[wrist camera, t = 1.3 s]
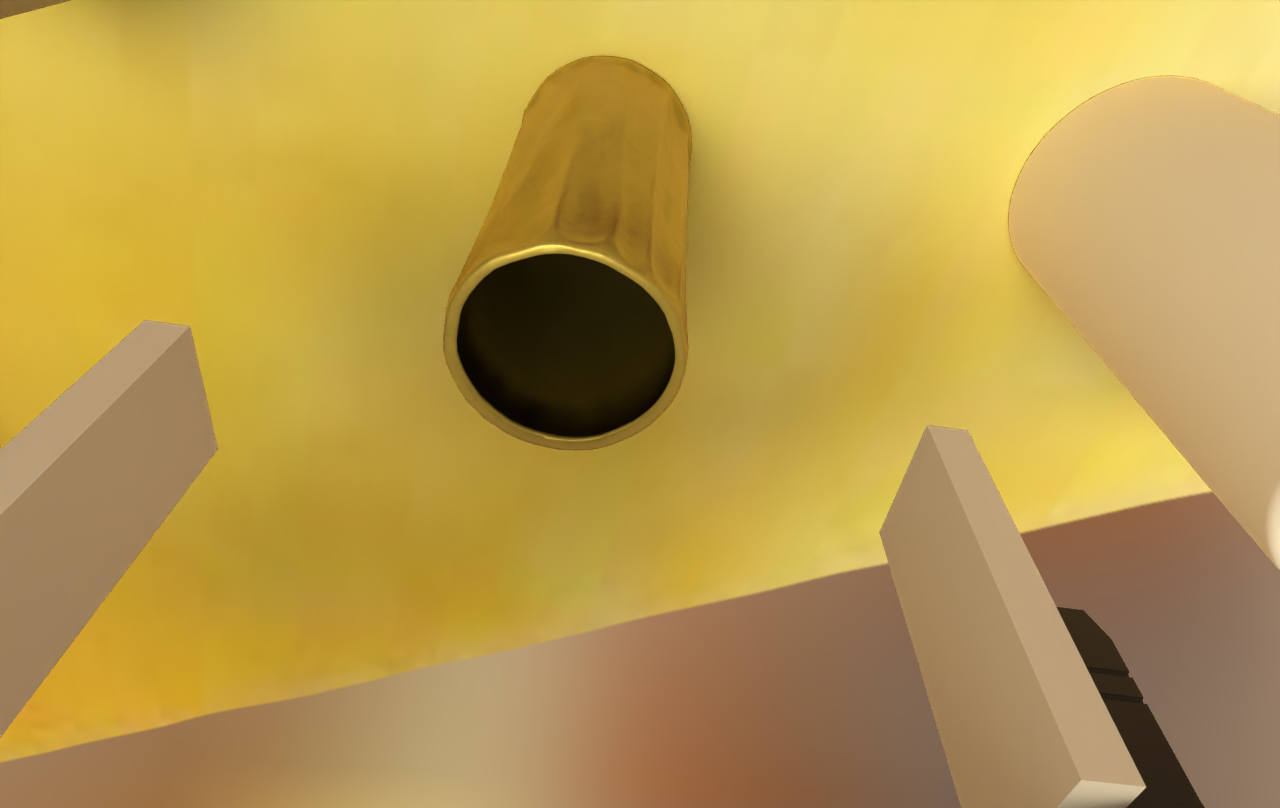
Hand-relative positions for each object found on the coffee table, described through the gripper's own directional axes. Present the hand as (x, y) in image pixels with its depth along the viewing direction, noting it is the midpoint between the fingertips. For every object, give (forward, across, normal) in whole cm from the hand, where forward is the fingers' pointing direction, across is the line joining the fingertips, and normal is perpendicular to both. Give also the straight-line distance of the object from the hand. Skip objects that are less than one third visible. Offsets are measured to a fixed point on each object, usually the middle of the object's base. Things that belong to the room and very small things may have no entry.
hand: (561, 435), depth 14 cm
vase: (+17, 0, 0) cm, 17 cm away
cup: (+17, +19, +1) cm, 25 cm away
